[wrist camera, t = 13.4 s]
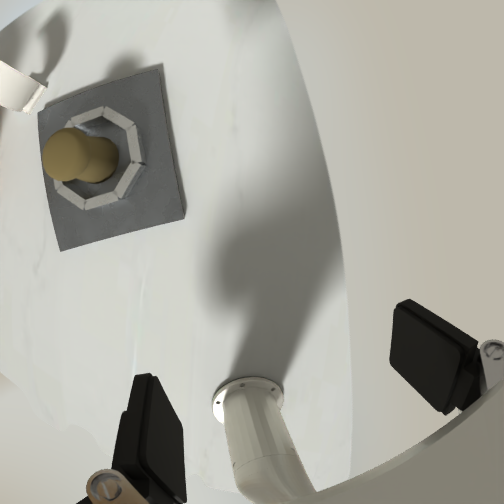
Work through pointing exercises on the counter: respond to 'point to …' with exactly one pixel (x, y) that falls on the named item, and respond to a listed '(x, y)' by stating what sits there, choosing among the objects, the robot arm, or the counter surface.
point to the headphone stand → (18, 90)
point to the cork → (79, 156)
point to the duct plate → (129, 165)
